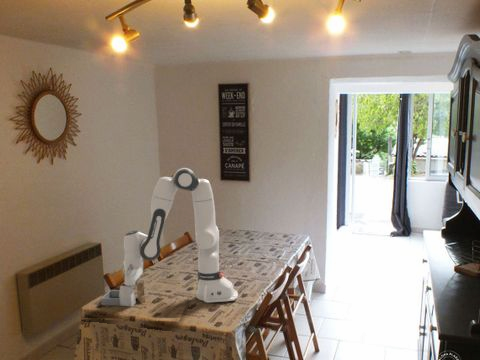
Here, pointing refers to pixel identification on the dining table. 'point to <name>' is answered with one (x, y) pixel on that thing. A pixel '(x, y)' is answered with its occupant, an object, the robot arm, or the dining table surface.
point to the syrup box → (124, 273)
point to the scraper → (140, 291)
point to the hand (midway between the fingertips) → (134, 287)
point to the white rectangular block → (127, 296)
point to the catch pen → (111, 301)
